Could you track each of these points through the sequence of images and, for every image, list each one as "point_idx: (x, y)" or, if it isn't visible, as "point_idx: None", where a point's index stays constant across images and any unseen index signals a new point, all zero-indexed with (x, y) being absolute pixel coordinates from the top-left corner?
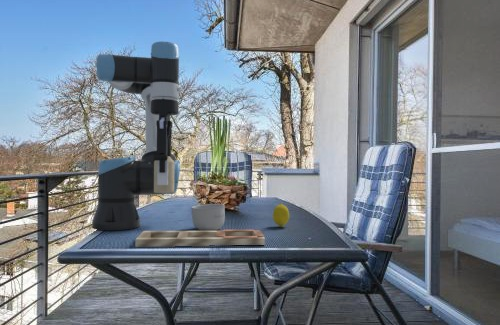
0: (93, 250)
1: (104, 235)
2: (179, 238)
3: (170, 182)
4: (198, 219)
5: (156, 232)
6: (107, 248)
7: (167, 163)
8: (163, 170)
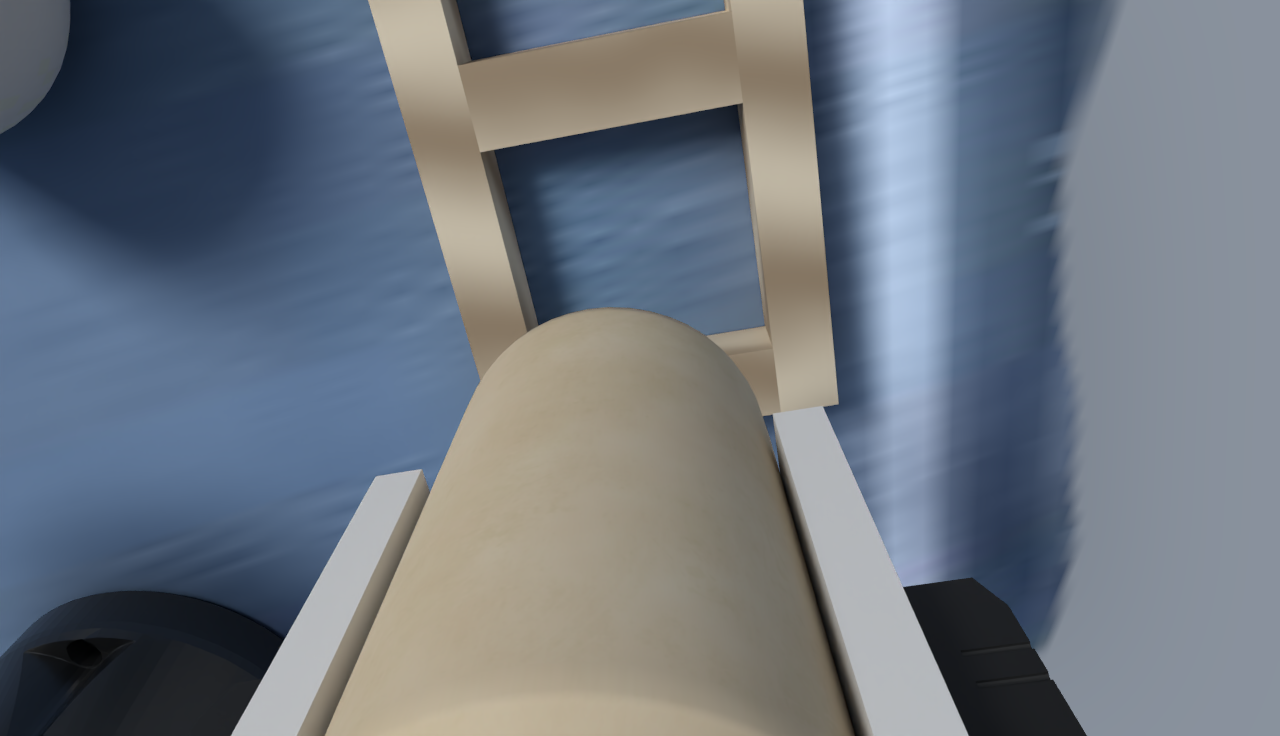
0: (929, 570)
1: None
2: (784, 66)
3: (716, 405)
4: (27, 53)
5: None
6: None
7: (962, 728)
8: (1010, 633)
